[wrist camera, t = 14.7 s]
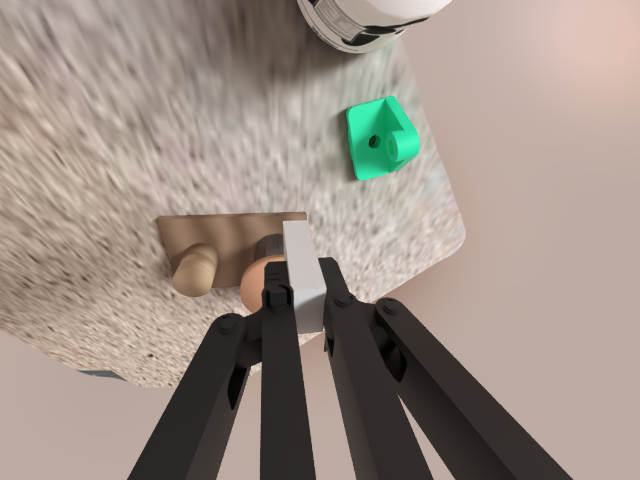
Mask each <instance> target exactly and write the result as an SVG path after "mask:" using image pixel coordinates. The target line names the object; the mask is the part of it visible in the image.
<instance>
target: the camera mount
mask: <svg viewBox="0 0 640 480" xmlns="http://www.w3.org/2000/svg"><path fill="white" fill-rule="evenodd" d="M346 119H347V126H348V131H347V135H348V141H349V148H350V155H351V159H352V160H353V166H354V173H355V176H356V177H357V178H358V179H359V180H366V179H370V178H373V177H377V176H380V175H384V174H387V173H391V172H395V171H398V170H399V169H401V168H402V167H403V166H404V165H406V164H407V163H408V162H409V161H410V160H412V159H413V158H414V157H415V156H417V154H418V152H419V147H420V142H419V136H418V133H417V131H416V129H415V128H414V126H413V125H412V123H411V122H410V120H409V118H408V117H407V115H406V114H405V112H404V111H403V109H402V107H401V106H400V104H399V103H398V101H397V100H396V98H395V97H394V96H389V97H385V98H381V99H378V100H374V101H370V102H366V103H363V104H359V105H355V106H351V107H349V108H348V109H347V111H346ZM374 135H375V137H376V141H375V143H374V144H373V145H372V146H369V139H370V138H371V137H372V136H374Z"/></svg>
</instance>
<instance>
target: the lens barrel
mask: <svg viewBox="0 0 640 480" xmlns="http://www.w3.org/2000/svg"><path fill="white" fill-rule="evenodd" d="M273 255H284V241H283V235H282V234H279V233H278V234H277V233H276V234H271V235H266V236H265V237H263V238H262V239H261V240H260V241H258V242H257V245H256V248H255V251H254V262H256V261H257V260H259V259H262V258H264V257H268V256H273ZM254 262H253V263H254Z"/></svg>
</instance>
